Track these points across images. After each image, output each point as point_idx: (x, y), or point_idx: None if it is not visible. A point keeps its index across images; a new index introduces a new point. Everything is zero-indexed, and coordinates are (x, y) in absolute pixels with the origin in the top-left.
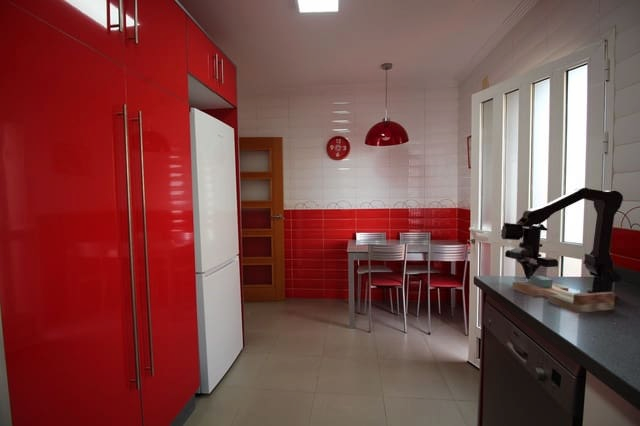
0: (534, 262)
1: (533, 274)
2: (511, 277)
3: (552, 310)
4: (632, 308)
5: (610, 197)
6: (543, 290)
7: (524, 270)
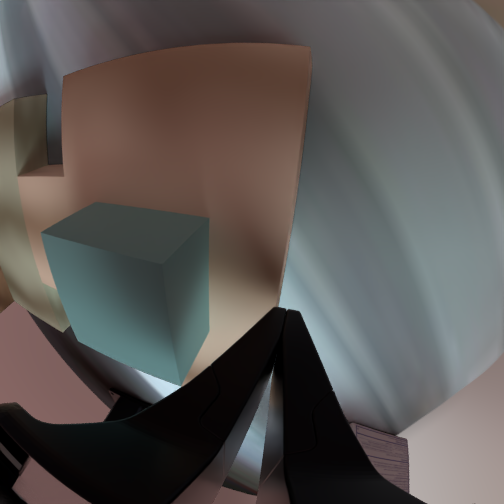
0: (21, 475)
1: (369, 449)
2: (462, 372)
3: (15, 39)
4: (46, 336)
5: None
6: (67, 160)
7: (315, 386)
